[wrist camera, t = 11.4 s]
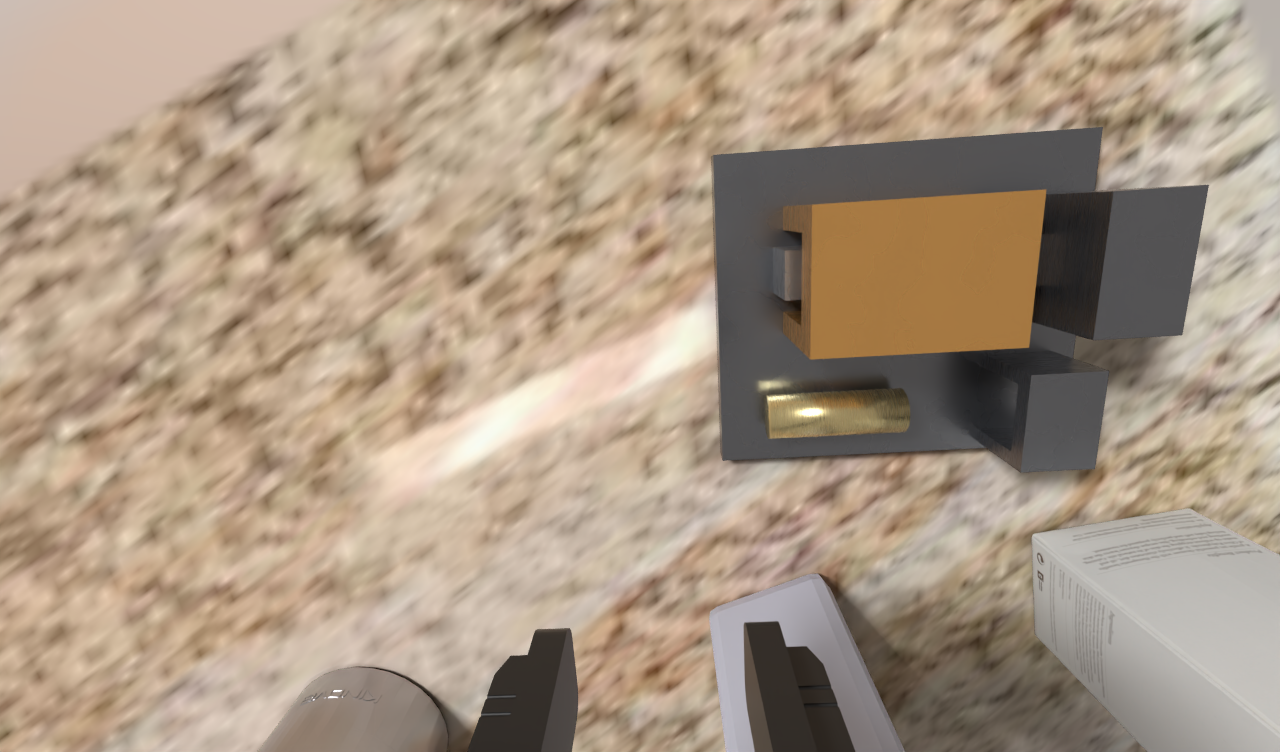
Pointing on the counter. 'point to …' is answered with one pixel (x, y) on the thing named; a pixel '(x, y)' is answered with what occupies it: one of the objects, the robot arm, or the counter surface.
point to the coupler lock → (916, 274)
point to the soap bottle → (803, 622)
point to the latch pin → (836, 413)
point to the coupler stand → (966, 380)
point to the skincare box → (1167, 627)
